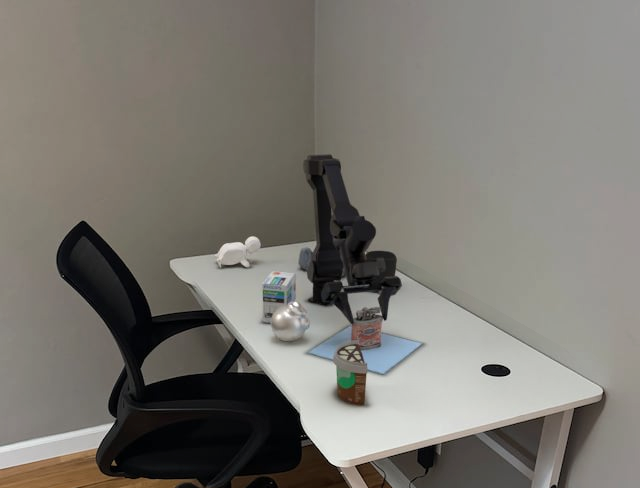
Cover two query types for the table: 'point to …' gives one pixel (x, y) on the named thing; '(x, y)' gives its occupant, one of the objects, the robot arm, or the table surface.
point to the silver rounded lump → (290, 321)
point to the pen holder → (389, 264)
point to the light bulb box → (277, 292)
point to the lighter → (367, 328)
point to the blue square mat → (375, 358)
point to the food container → (350, 372)
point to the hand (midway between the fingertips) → (369, 321)
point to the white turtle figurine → (237, 252)
